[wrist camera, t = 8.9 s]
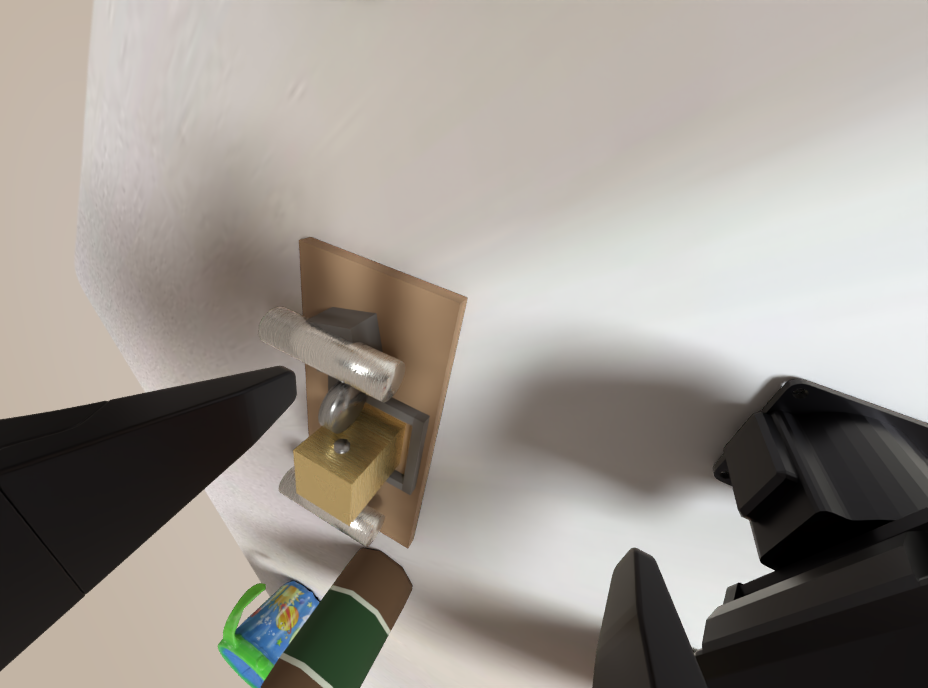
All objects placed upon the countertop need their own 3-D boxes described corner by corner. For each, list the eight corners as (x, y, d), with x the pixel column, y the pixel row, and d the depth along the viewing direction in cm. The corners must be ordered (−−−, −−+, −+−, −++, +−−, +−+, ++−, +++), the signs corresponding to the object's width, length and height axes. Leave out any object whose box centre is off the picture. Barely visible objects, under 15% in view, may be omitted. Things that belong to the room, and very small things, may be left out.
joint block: (399, 465, 29) (349, 528, 24) (353, 440, 30) (296, 495, 25) (406, 420, 26) (352, 481, 22) (355, 394, 28) (292, 446, 23)
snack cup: (261, 552, 55) (193, 623, 47) (309, 568, 50) (241, 651, 41) (305, 619, 60) (250, 693, 52) (351, 639, 55) (298, 725, 47)
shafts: (411, 349, 22) (375, 380, 19) (386, 521, 32) (360, 558, 29) (296, 298, 24) (248, 318, 22) (306, 473, 34) (275, 503, 32)
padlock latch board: (467, 297, 21) (439, 320, 18) (413, 539, 35) (392, 573, 32) (310, 237, 24) (265, 248, 21) (318, 482, 38) (291, 509, 35)
